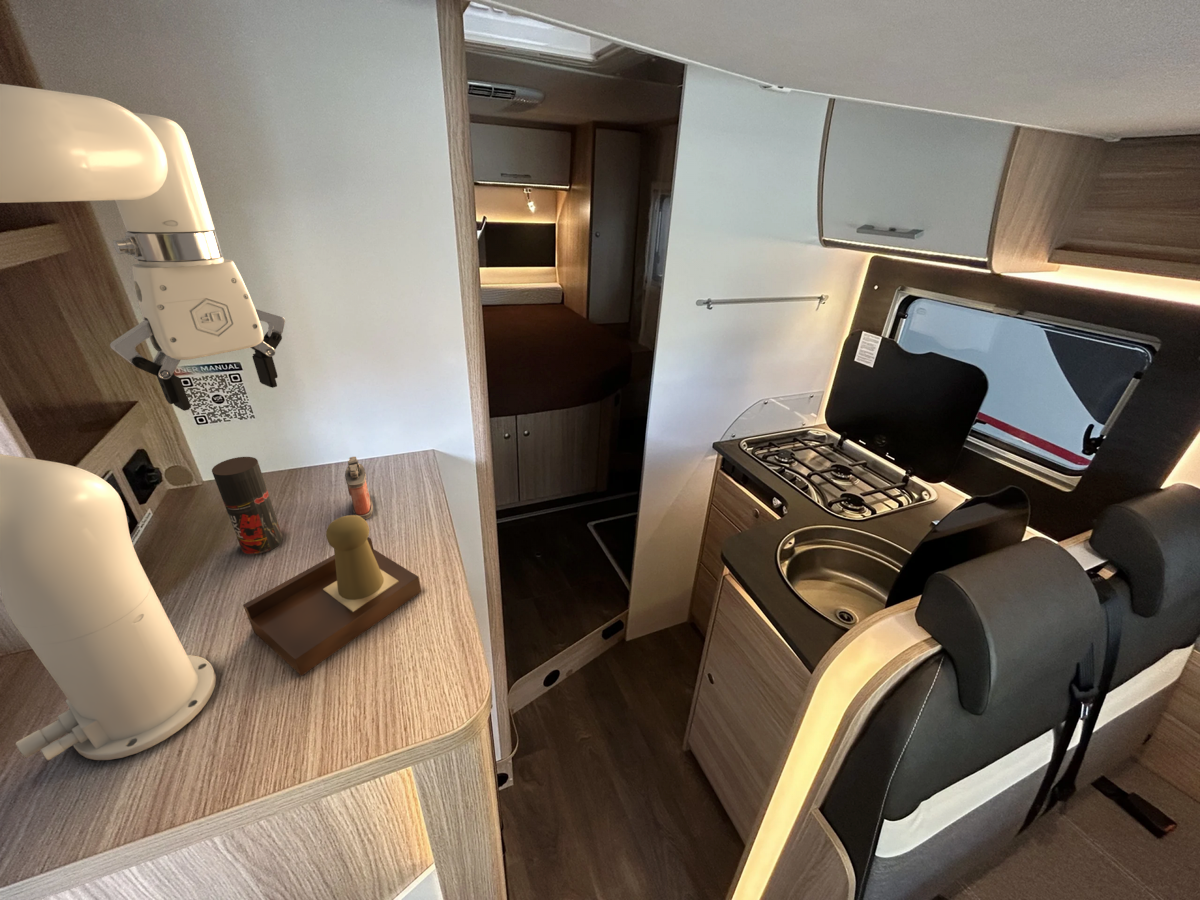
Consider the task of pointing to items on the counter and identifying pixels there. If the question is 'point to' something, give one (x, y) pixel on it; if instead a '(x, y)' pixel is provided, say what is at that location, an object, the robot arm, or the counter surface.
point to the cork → (354, 558)
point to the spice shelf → (324, 611)
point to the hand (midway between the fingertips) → (228, 395)
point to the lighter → (358, 489)
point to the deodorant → (248, 504)
